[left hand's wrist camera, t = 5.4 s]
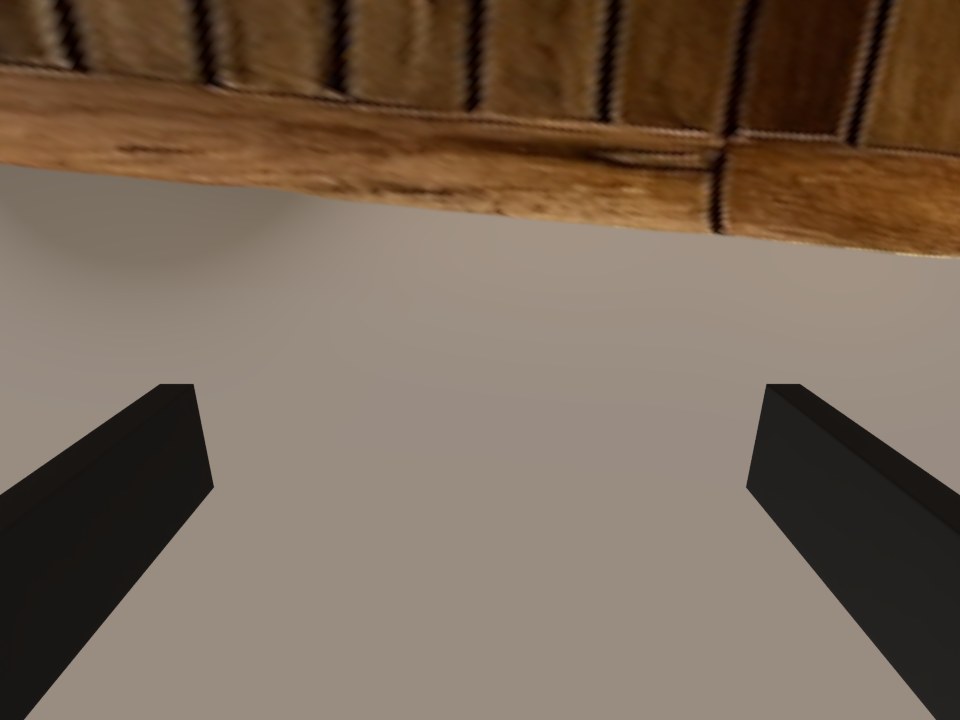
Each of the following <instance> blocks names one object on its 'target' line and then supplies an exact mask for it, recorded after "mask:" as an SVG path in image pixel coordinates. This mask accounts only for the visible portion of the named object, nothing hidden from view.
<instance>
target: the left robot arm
mask: <svg viewBox="0 0 960 720" xmlns="http://www.w3.org/2000/svg"><path fill="white" fill-rule="evenodd" d="M213 488H214V485H213V480H212V475H211V470H210V465H209V460H208V455H207V450H206V445H205V440H204V435H203V430H202V425H201V420H200V415H199V409H198V404H197V399H196V394H195V389H194V385H193V384H159V385H158V386H157V387H155V388H154V389H152V390H151V391H149V392H148V393H146V394H145V395H144V396H142V397H141V398H139V399H138V400H136V401H135V402H134V403H132V404H131V405H129V406H128V407H126V408H125V409H123V410H122V411H121V412H119V413H118V414H116V415H115V416H113V417H112V418H110V419H109V420H108V421H106V422H105V423H103V424H102V425H100V426H99V427H97V428H96V429H95V430H93V431H92V432H90V433H89V434H88V435H86V436H85V437H83V438H82V439H80V440H79V441H77V442H76V443H74V444H73V445H72V446H70V447H69V448H67V449H66V450H64V451H63V452H61V453H60V454H59V455H57V456H56V457H54V458H53V459H51V460H50V461H49V462H47V463H46V464H44V465H43V466H41V467H40V468H38V469H37V470H36V471H34V472H33V473H31V474H30V475H28V476H27V477H26V478H24V479H23V480H21V481H20V482H18V483H17V484H15V485H14V486H13V487H11V488H10V489H8V490H7V491H5V492H4V493H2V494H1V495H0V720H24V719H25V718H26V717H27V715H28V714H29V713H30V712H31V710H32V709H33V708H34V707H35V705H36V704H37V703H38V702H39V701H40V699H41V698H42V697H43V696H44V695H45V693H46V692H47V691H48V690H49V688H50V687H51V686H52V685H53V683H54V682H55V681H56V680H57V679H58V677H59V676H60V675H61V674H62V672H63V671H64V670H65V669H66V668H67V666H68V665H69V664H70V663H71V661H72V660H73V659H74V658H75V657H76V655H77V654H78V653H79V652H80V650H81V649H82V648H83V647H84V646H85V644H86V643H87V642H88V641H89V639H90V638H91V637H92V636H93V635H94V633H95V632H96V631H97V630H98V628H99V627H100V626H101V625H102V624H103V622H104V621H105V620H106V619H107V617H108V616H109V615H110V614H111V613H112V611H113V610H114V609H115V608H116V606H117V605H118V604H119V603H120V601H121V600H122V599H123V598H124V597H125V595H126V594H127V593H128V592H129V591H130V589H131V588H132V587H133V585H134V584H135V583H136V582H137V581H138V580H139V578H140V577H141V576H142V575H143V573H144V572H145V571H146V570H147V569H148V567H149V566H150V565H151V564H152V562H153V561H154V560H155V559H156V557H157V556H158V555H159V554H160V553H161V551H162V550H163V549H164V548H165V546H166V545H167V544H168V543H169V542H170V540H171V539H172V538H173V537H174V535H175V534H176V533H177V532H178V530H179V529H180V528H181V527H182V526H183V524H184V523H185V522H186V521H187V520H188V518H189V517H190V516H191V515H192V513H193V512H194V511H195V510H196V509H197V507H198V506H199V505H200V504H201V502H202V501H203V500H204V499H205V498H206V496H207V495H208V494H209V493H210V491H211V490H212V489H213ZM746 488H747V489H748V490H749V491H750V493H751V494H752V495H753V496H754V498H755V499H756V500H757V501H758V502H759V504H760V505H761V506H762V507H763V509H764V510H765V511H766V512H767V513H768V515H769V516H770V517H771V518H772V520H773V521H774V522H775V523H776V524H777V526H778V527H779V528H780V529H781V531H782V532H783V533H784V534H785V535H786V537H787V538H788V539H789V540H790V542H791V543H792V544H793V545H794V546H795V548H796V549H797V550H798V551H799V553H800V554H801V555H802V556H803V557H804V559H805V560H806V561H807V562H808V564H809V565H810V566H811V567H812V568H813V570H814V571H815V572H816V573H817V575H818V576H819V577H820V578H821V579H822V581H823V582H824V583H825V584H826V586H827V587H828V588H829V589H830V591H831V592H832V593H833V594H834V595H835V597H836V598H837V599H838V600H839V602H840V603H841V604H842V605H843V606H844V608H845V609H846V610H847V611H848V613H849V614H850V615H851V616H852V617H853V619H854V620H855V621H856V622H857V624H858V625H859V626H860V627H861V628H862V630H863V631H864V632H865V633H866V635H867V636H868V637H869V638H870V639H871V641H872V642H873V643H874V644H875V646H876V647H877V648H878V649H879V650H880V652H881V653H882V654H883V655H884V657H885V658H886V659H887V660H888V661H889V663H890V664H891V665H892V666H893V668H894V669H895V670H896V671H897V672H898V674H899V675H900V676H901V677H902V679H903V680H904V681H905V682H906V683H907V685H908V686H909V687H910V688H911V690H912V691H913V692H914V693H915V694H916V696H917V697H918V698H919V699H920V701H921V702H922V703H923V704H924V705H925V707H926V708H927V709H928V710H929V712H930V713H931V714H932V715H933V716H934V718H935V719H936V720H960V495H959V494H958V493H956V492H955V491H953V490H952V489H950V488H949V487H947V486H946V485H945V484H943V483H942V482H940V481H939V480H937V479H936V478H934V477H933V476H932V475H930V474H929V473H927V472H926V471H924V470H923V469H922V468H920V467H919V466H917V465H916V464H914V463H913V462H911V461H910V460H909V459H907V458H906V457H904V456H903V455H901V454H900V453H898V452H897V451H896V450H894V449H893V448H891V447H890V446H888V445H887V444H885V443H884V442H883V441H881V440H880V439H878V438H877V437H875V436H874V435H872V434H871V433H870V432H868V431H867V430H865V429H864V428H862V427H861V426H860V425H858V424H857V423H855V422H854V421H852V420H851V419H850V418H848V417H847V416H845V415H844V414H842V413H841V412H839V411H838V410H837V409H835V408H834V407H832V406H831V405H829V404H828V403H826V402H825V401H824V400H822V399H821V398H819V397H818V396H816V395H815V394H814V393H812V392H811V391H809V390H808V389H806V388H805V387H803V386H802V385H801V384H767V385H766V389H765V394H764V399H763V404H762V410H761V415H760V420H759V425H758V430H757V435H756V440H755V445H754V450H753V455H752V460H751V465H750V470H749V475H748V480H747V485H746Z"/></svg>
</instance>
